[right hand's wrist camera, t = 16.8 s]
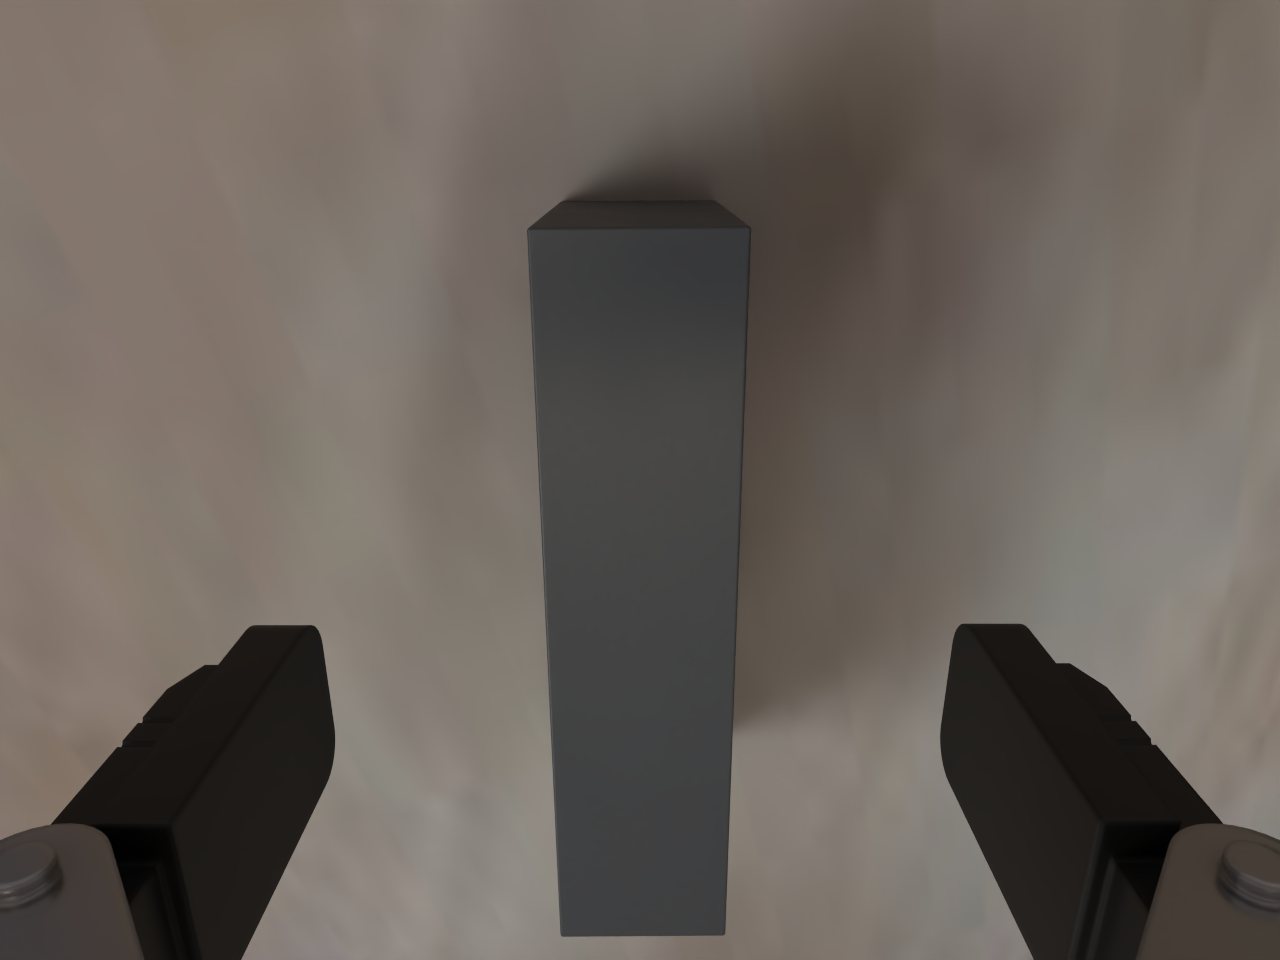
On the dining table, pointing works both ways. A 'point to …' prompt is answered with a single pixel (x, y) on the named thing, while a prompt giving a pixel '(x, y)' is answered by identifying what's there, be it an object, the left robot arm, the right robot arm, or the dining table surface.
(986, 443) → the dining table surface
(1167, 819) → the right robot arm
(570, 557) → the box
